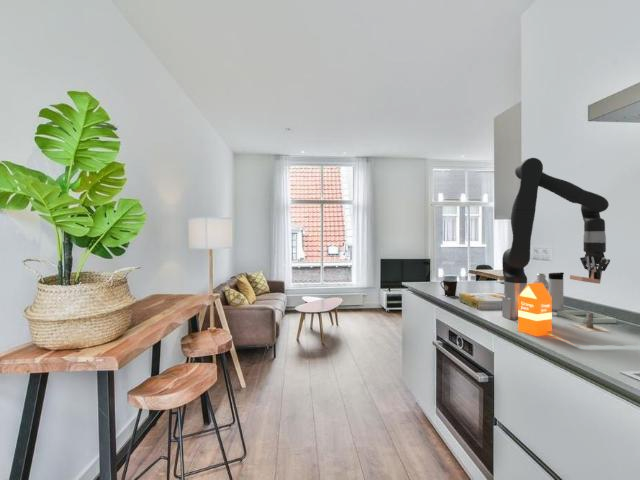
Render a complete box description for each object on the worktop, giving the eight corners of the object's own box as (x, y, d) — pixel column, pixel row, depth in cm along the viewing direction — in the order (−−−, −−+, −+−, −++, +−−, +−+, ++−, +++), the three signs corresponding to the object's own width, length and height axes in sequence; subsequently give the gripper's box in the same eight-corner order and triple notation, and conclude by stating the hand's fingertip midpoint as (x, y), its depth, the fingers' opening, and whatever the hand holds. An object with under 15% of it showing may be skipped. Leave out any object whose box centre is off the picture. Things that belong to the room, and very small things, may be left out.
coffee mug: (459, 296, 198) (459, 281, 198) (446, 297, 198) (446, 281, 198) (452, 293, 209) (452, 279, 209) (439, 293, 210) (439, 279, 209)
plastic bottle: (550, 313, 155) (550, 273, 155) (548, 315, 150) (548, 275, 150) (534, 311, 159) (534, 272, 159) (532, 313, 154) (532, 274, 154)
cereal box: (458, 292, 184) (503, 291, 186) (458, 302, 184) (503, 301, 186) (477, 300, 164) (528, 299, 165) (477, 310, 164) (527, 309, 166)
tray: (582, 325, 133) (582, 318, 133) (556, 316, 148) (556, 310, 148) (616, 325, 133) (616, 318, 133) (587, 316, 148) (587, 310, 148)
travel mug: (566, 312, 157) (566, 273, 157) (552, 311, 158) (552, 273, 158) (559, 309, 163) (559, 271, 163) (545, 308, 164) (545, 271, 164)
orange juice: (517, 330, 127) (518, 282, 127) (532, 328, 130) (532, 281, 130) (537, 336, 119) (537, 285, 119) (552, 333, 123) (552, 283, 122)
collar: (582, 281, 135) (584, 267, 135) (569, 278, 142) (571, 266, 142) (605, 284, 135) (607, 271, 135) (591, 282, 142) (593, 269, 142)
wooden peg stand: (588, 334, 122) (588, 316, 122) (567, 326, 132) (568, 310, 132) (613, 334, 122) (613, 316, 121) (591, 326, 132) (591, 310, 131)
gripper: (573, 241, 145) (573, 277, 146) (599, 241, 132) (599, 282, 132) (589, 241, 145) (590, 277, 145) (617, 241, 131) (617, 282, 132)
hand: (594, 279), depth 139 cm, fingers closed on collar
